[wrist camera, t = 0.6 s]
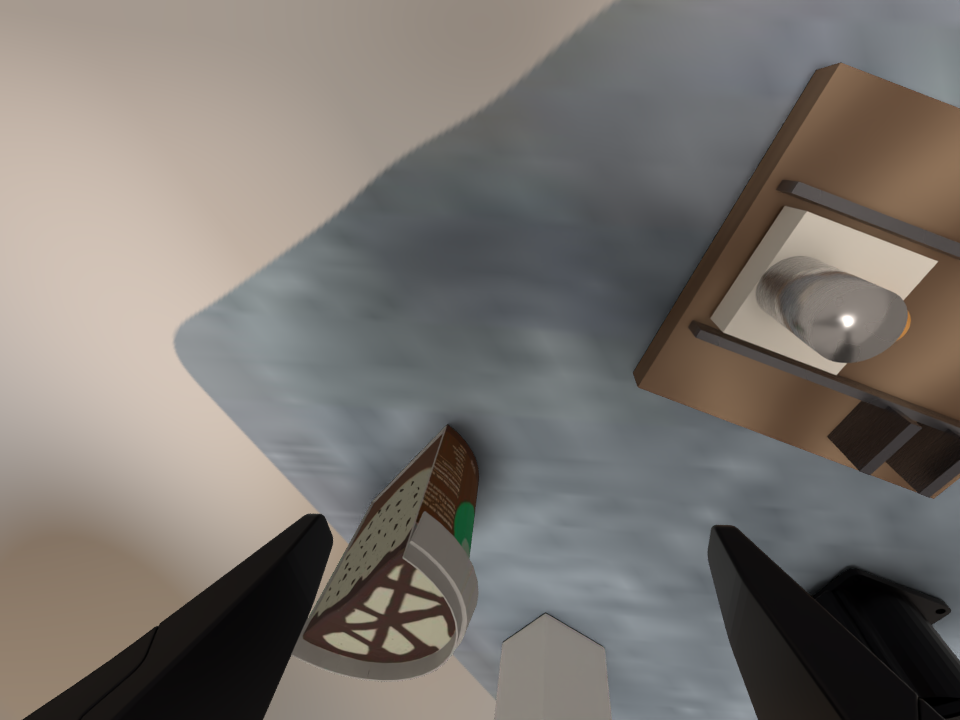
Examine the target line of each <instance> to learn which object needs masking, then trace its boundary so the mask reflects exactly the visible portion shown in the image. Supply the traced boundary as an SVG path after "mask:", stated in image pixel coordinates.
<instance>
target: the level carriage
mask: <svg viewBox="0 0 960 720" xmlns="http://www.w3.org/2000/svg"><path fill="white" fill-rule="evenodd" d="M937 262H938V261H936V260H933V259H930V258H928V257H925V256H923V255H920V254H917V253H915V252H912V251H910V250H907V249H904V248H902V247H899V246H896V245H894V244H891V243H889V242H886V241H883V240H881V239H878V238H876V237H873V236H870V235H868V234H865V233H862V232H860V231H857V230H855V229H852V228H849V227H847V226H844V225H842V224H839V223H836V222H834V221H831V220H828V219H826V218H823V217H821V216H818V215H815V214H813V213H810V212H808V211H804V210H800V209H796V208H792V207H788V206H784V208H783V209H782V211H781V212H780V214H779V215H778V217H777V218H776V220H775V221H774V223H773V224H772V226H771V227H770V229H769V230H768V232H767V233H766V235H765V236H764V238H763V239H762V241H761V242H760V244H759V245H758V247H757V248H756V250H755V252H754V253H753V255H752V256H751V258H750V259H749V261H748V262H747V264H746V265H745V267H744V268H743V270H742V271H741V273H740V274H739V276H738V277H737V279H736V280H735V282H734V283H733V285H732V286H731V288H730V289H729V291H728V292H727V294H726V295H725V297H724V298H723V300H722V301H721V303H720V304H719V306H718V307H717V309H716V310H715V312H714V313H713V315H712V316H711V318H710V319H711V320H712V321H713V322H714V323H715V324H716V325H717V326H718V327H719V329H720V330H721V331H722V332H723V333H726V334H729V335H731V336H734V337H737V338H739V339H742V340H745V341H747V342H750V343H752V344H755V345H758V346H760V347H763V348H766V349H768V350H771V351H774V352H776V353H779V354H781V355H784V356H787V357H789V358H792V359H795V360H797V361H800V362H803V363H805V364H808V365H810V366H813V367H816V368H818V369H821V370H824V371H826V372H829V373H832V374H834V375H837V374H838V373H839V372H840V371H841V369H842V368H843V367H844V366H845V365H846V364H847V363H854V362H860V361H864V360H867V359H870V358H872V357H874V356H876V355H878V354H880V353H882V352H883V351H885V350H886V349H888V348H889V347H890V346H891V345H892V344H894V343H895V342H896V341H898V340H899V339H901V338H902V337H903V336H904V335H905V334H906V333H907V331H908V329H909V327H910V323H911V317H910V314H909V312H908V310H907V307H906V304H905V302H904V301H903V300H904V299H905V298H906V297H907V296H908V295H909V294H910V292H911V291H912V290H913V289H914V288H915V287H916V286H917V285H918V284H919V282H920V281H921V280H922V279H923V278H924V277H925V276H926V275H927V273H928V272H929V271H930V270H931V269H932V268H933V267H934V266H935V265H936V263H937Z"/></svg>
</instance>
